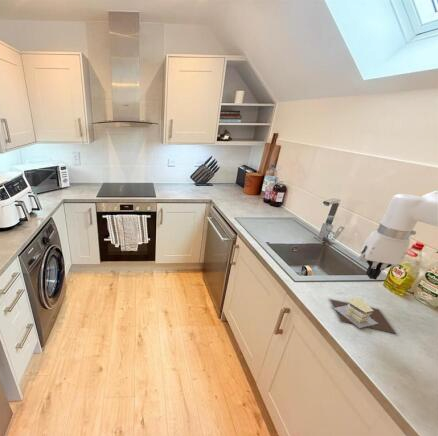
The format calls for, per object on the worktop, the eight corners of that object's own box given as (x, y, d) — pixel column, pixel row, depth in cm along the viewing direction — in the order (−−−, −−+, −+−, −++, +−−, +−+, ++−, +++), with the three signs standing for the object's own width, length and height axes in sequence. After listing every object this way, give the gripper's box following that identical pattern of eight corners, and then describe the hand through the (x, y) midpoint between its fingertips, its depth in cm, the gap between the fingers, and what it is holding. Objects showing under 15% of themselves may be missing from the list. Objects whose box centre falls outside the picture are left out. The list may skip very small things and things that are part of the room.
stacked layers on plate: (378, 323, 87) (384, 312, 85) (359, 328, 85) (365, 316, 83) (351, 304, 96) (356, 293, 94) (333, 308, 94) (338, 297, 92)
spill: (378, 309, 94) (378, 309, 94) (395, 333, 83) (395, 333, 83) (330, 300, 99) (331, 299, 99) (341, 321, 88) (341, 321, 88)
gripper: (415, 230, 78) (391, 275, 86) (360, 223, 83) (342, 266, 90) (431, 240, 72) (403, 288, 79) (370, 232, 76) (350, 278, 84)
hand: (371, 276), depth 85 cm, fingers closed
